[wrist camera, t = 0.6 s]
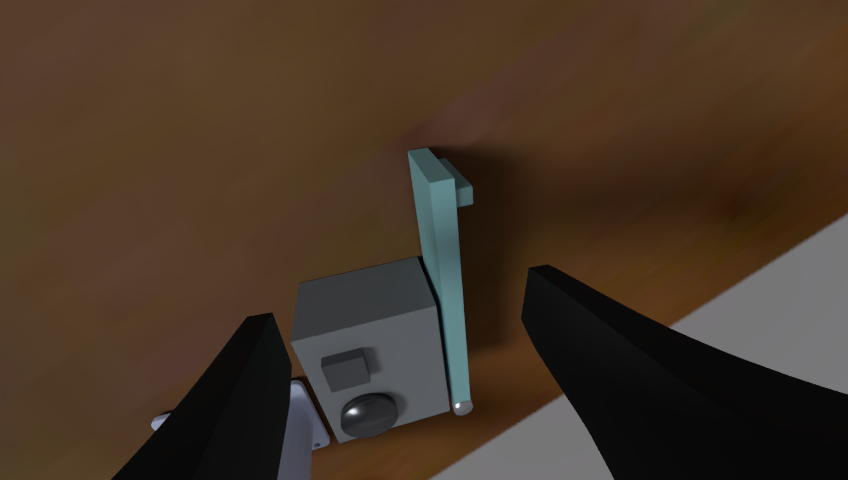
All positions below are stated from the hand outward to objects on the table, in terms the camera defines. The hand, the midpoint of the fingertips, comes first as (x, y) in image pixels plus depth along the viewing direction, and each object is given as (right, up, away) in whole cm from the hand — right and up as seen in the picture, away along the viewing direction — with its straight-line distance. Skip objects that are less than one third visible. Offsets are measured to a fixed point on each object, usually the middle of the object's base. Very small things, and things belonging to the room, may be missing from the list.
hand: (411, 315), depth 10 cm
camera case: (-3, -3, +13) cm, 13 cm away
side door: (+1, 0, +11) cm, 11 cm away
